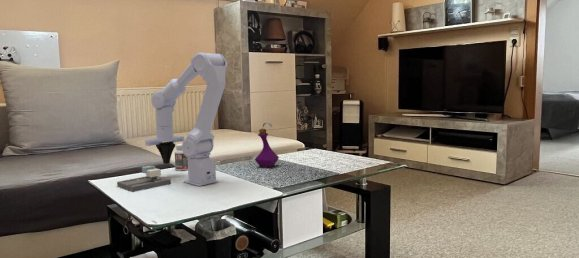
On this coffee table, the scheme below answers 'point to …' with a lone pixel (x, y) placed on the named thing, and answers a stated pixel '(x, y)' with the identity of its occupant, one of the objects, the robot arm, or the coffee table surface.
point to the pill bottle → (180, 159)
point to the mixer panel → (143, 183)
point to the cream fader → (153, 173)
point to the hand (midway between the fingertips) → (166, 163)
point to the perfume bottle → (266, 151)
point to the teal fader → (144, 169)
